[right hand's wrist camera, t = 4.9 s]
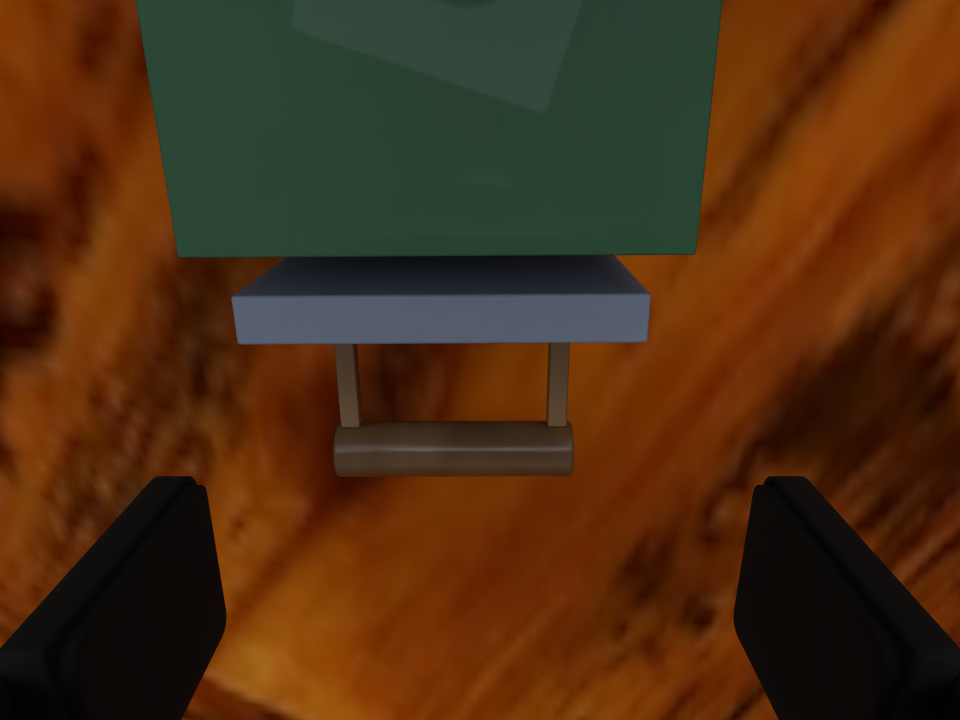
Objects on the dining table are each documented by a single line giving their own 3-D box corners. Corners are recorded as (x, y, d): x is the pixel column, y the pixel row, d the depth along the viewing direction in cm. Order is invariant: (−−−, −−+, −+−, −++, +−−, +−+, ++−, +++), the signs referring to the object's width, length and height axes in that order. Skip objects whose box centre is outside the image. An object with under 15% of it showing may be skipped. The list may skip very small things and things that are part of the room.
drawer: (580, 410, 27) (629, 560, 18) (339, 411, 27) (267, 561, 18) (613, -258, 19) (725, -579, 10) (281, -253, 19) (107, -569, 10)
